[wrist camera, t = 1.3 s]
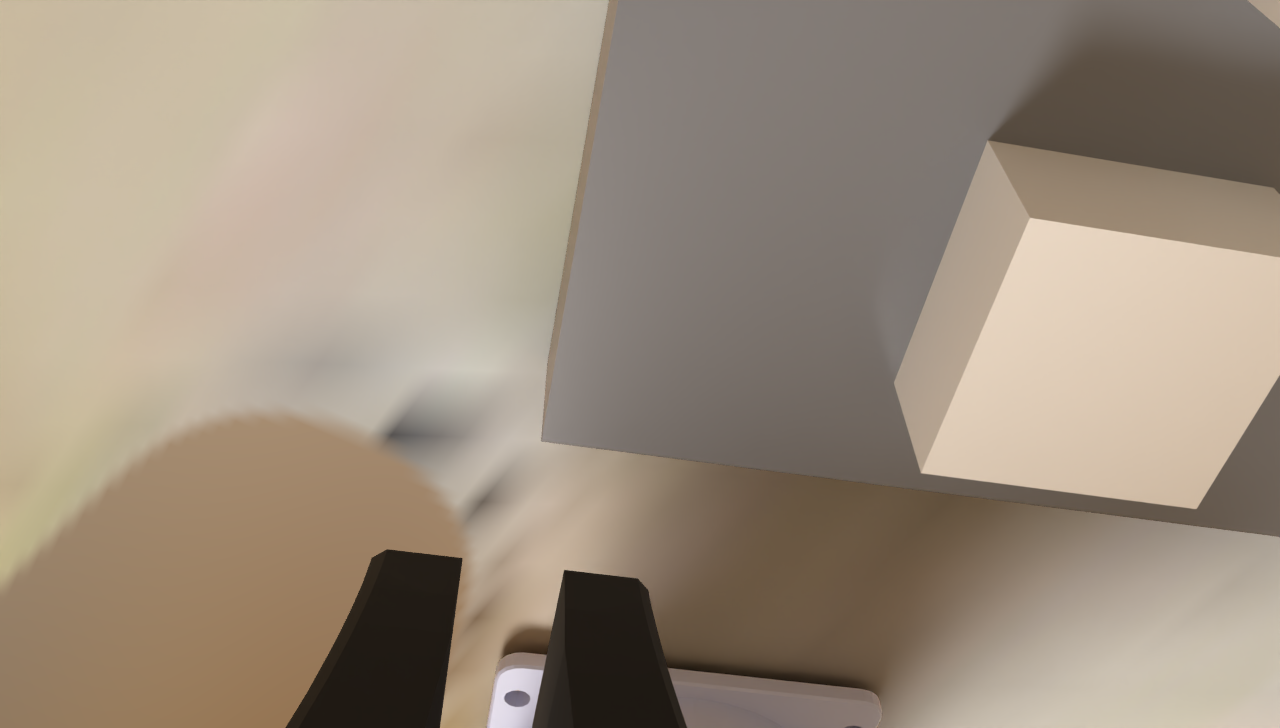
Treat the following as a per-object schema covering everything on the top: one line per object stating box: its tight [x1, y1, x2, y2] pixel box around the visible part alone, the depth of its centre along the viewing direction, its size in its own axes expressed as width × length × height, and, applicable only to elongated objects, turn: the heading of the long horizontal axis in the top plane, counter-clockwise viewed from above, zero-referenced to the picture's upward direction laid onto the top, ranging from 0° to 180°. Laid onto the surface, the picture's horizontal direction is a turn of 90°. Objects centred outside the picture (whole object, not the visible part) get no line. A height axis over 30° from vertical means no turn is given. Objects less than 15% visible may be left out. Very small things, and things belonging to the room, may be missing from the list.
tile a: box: [894, 140, 1280, 509], centre depth 16 cm, size 4×4×2 cm
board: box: [541, 0, 1280, 537], centre depth 16 cm, size 14×16×2 cm
